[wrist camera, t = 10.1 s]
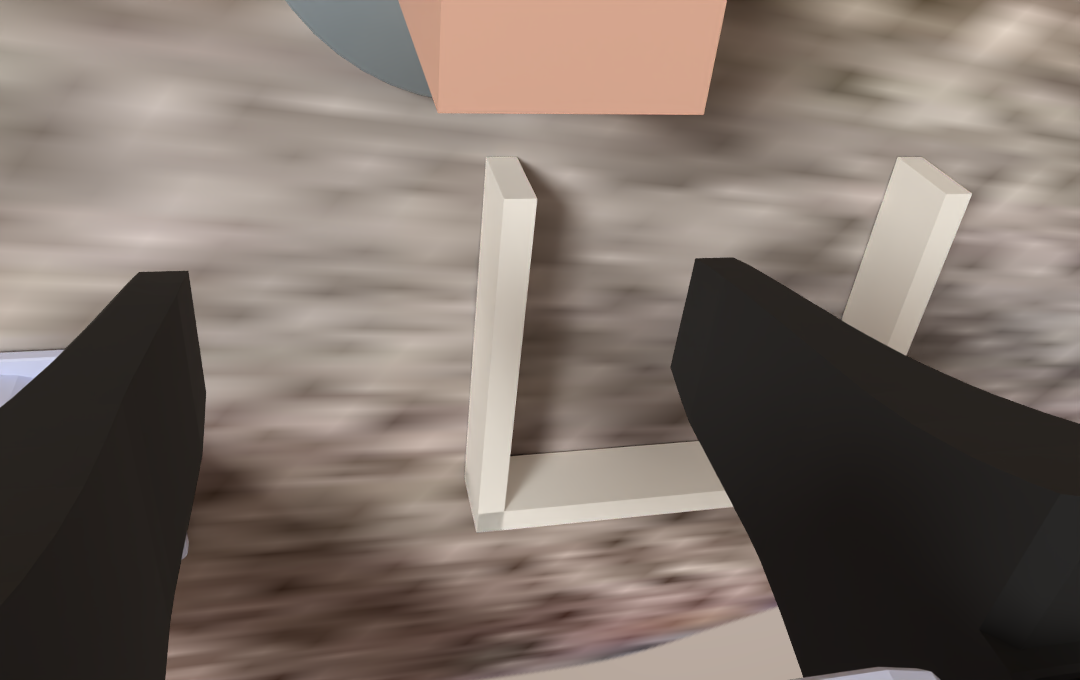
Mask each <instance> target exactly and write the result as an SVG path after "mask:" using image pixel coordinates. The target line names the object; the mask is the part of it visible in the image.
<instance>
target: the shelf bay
mask: <svg viewBox="0 0 1080 680" xmlns="http://www.w3.org/2000/svg"><path fill="white" fill-rule="evenodd" d="M971 195H972V193H970V192H969V191H968V190H966V189H965V188H964V187H962V186H961V185H959V184H958V183H957V182H955V181H954V180H953V179H951V178H950V177H949V176H947V175H946V174H944V173H943V172H942V171H940V170H939V169H938V168H936V167H935V166H934V165H932V164H931V163H929V162H928V161H927V160H925V159H924V158H923V157H898V158H897V161H896V164H895V167H894V170H893V172H892V175H891V178H890V181H889V184H888V187H887V190H886V193H885V196H884V198H883V201H882V204H881V207H880V210H879V213H878V216H877V219H876V222H875V224H874V227H873V230H872V233H871V236H870V239H869V242H868V245H867V247H866V250H865V253H864V256H863V259H862V262H861V265H860V268H859V271H858V273H857V276H856V279H855V282H854V285H853V288H852V291H851V294H850V297H849V299H848V302H847V305H846V308H845V311H844V314H843V317H842V321H844V322H845V323H847V324H849V325H850V326H852V327H854V328H856V329H857V330H859V331H861V332H863V333H865V334H866V335H868V336H870V337H872V338H874V339H876V340H877V341H879V342H881V343H883V344H885V345H887V346H889V347H890V348H892V349H894V350H896V351H898V352H900V353H902V354H904V355H907V353H908V350H909V348H910V345H911V343H912V340H913V338H914V335H915V333H916V331H917V328H918V326H919V323H920V321H921V318H922V316H923V313H924V311H925V308H926V306H927V304H928V301H929V299H930V296H931V294H932V291H933V289H934V286H935V284H936V281H937V279H938V277H939V274H940V272H941V269H942V267H943V264H944V262H945V259H946V257H947V254H948V252H949V249H950V247H951V245H952V242H953V240H954V237H955V235H956V232H957V230H958V227H959V225H960V222H961V220H962V218H963V215H964V213H965V210H966V208H967V205H968V203H969V200H970V198H971ZM536 206H537V197H536V195H535V193H534V191H533V189H532V187H531V185H530V183H529V181H528V179H527V177H526V175H525V173H524V171H523V169H522V166H521V164H520V162H519V160H518V158H517V157H486V168H485V182H484V197H483V212H482V226H481V241H480V256H479V271H478V285H477V300H476V315H475V330H474V344H473V359H472V374H471V388H470V403H469V418H468V433H467V447H466V462H465V477H464V479H465V483H466V487H467V492H468V496H469V501H470V505H471V510H472V514H473V519H474V523H475V528H476V532H477V533H479V532H489V531H499V530H509V529H519V528H528V527H538V526H548V525H558V524H568V523H578V522H588V521H598V520H608V519H618V518H628V517H638V516H648V515H657V514H667V513H677V512H687V511H697V510H707V509H717V508H727V507H733V505H732V503H731V501H730V499H729V497H728V495H727V494H726V492H725V490H724V488H723V486H722V484H721V482H720V480H719V478H718V477H717V475H716V473H715V471H714V469H713V467H712V465H711V463H710V461H709V460H708V458H707V456H706V454H705V452H704V450H703V448H702V446H701V444H700V442H699V441H693V442H680V443H668V444H655V445H643V446H631V447H618V448H606V449H594V450H581V451H569V452H557V453H544V454H532V455H520V456H510V453H511V443H512V434H513V424H514V415H515V405H516V396H517V386H518V377H519V367H520V358H521V348H522V339H523V329H524V320H525V310H526V301H527V291H528V282H529V272H530V263H531V254H532V244H533V235H534V225H535V216H536Z"/></svg>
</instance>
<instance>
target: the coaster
mask: <svg viewBox="0 0 1080 680" xmlns="http://www.w3.org/2000/svg"><path fill="white" fill-rule="evenodd" d="M286 2H287V3H288V4H289V6H290V7H291V9H292V10H293V11H294V12H295V13H296V14H297V15H298V16H299V18H300V19H301V20H302V21H303V22H304V23H305V24H306V25H307V26H308V27H309V29H310V30H311V31H312V32H313V33H314V34H315V35H316V36H317V37H319V38H320V39H321V40H322V41H323V42H324V43H326V44H327V45H328V46H329V47H330V48H331V49H333V50H334V51H335V52H336V53H337V54H338V55H340V56H341V57H343V58H344V59H346V60H347V61H349V62H350V63H352V64H353V65H355V66H356V67H358V68H359V69H361V70H362V71H364V72H366V73H368V74H370V75H372V76H374V77H376V78H378V79H380V80H382V81H384V82H386V83H388V84H390V85H392V86H395V87H398V88H401V89H404V90H407V91H410V92H413V93H415V94H419V95H423V96H428V97H432V95H431V92H430V89H429V86H428V83H427V80H426V78H425V75H424V72H423V69H422V66H421V64H420V61H419V58H418V55H417V52H416V49H415V47H414V44H413V41H412V38H411V35H410V32H409V30H408V27H407V24H406V21H405V18H404V15H403V13H402V10H401V7H400V4H399V1H398V0H286Z"/></svg>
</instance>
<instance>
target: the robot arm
mask: <svg viewBox="0 0 1080 680" xmlns="http://www.w3.org/2000/svg"><path fill="white" fill-rule="evenodd" d="M671 370H672V373H673V376H674V379H675V382H676V386H677V389H678V392H679V395H680V398H681V401H682V403H683V406H684V409H685V412H686V414H687V417H688V420H689V422H690V424H691V426H692V428H693V430H694V432H695V434H696V436H697V438H698V440H699V442H700V444H701V446H702V448H703V450H704V452H705V454H706V456H707V458H708V460H709V461H710V463H711V465H712V467H713V469H714V471H715V473H716V475H717V477H718V478H719V480H720V482H721V484H722V486H723V488H724V490H725V492H726V494H727V495H728V497H729V499H730V501H731V503H732V505H733V507H734V509H735V511H736V512H737V514H738V516H739V518H740V520H741V522H742V524H743V526H744V528H745V529H746V531H747V533H748V535H749V537H750V540H751V542H752V544H753V546H754V548H755V550H756V552H757V554H758V557H759V559H760V561H761V564H762V566H763V569H764V571H765V574H766V576H767V579H768V582H769V584H770V587H771V589H772V592H773V594H774V597H775V600H776V602H777V605H778V607H779V610H780V612H781V615H782V618H783V621H784V624H785V626H786V629H787V632H788V635H789V638H790V641H791V643H792V646H793V649H794V652H795V655H796V657H797V660H798V663H799V666H800V669H801V672H802V675H803V678H798V679H792V680H1080V424H1078V423H1075V422H1072V421H1069V420H1066V419H1062V418H1059V417H1056V416H1053V415H1050V414H1047V413H1044V412H1041V411H1038V410H1035V409H1032V408H1029V407H1027V406H1024V405H1021V404H1018V403H1016V402H1013V401H1010V400H1007V399H1005V398H1002V397H999V396H996V395H994V394H991V393H989V392H986V391H984V390H981V389H979V388H976V387H974V386H971V385H969V384H966V383H964V382H962V381H960V380H957V379H955V378H953V377H951V376H948V375H946V374H944V373H942V372H939V371H937V370H935V369H933V368H931V367H928V366H926V365H924V364H922V363H920V362H918V361H916V360H914V359H912V358H910V357H908V356H906V355H904V354H902V353H900V352H898V351H896V350H894V349H892V348H890V347H889V346H887V345H885V344H883V343H881V342H879V341H877V340H876V339H874V338H872V337H870V336H868V335H866V334H865V333H863V332H861V331H859V330H857V329H856V328H854V327H852V326H850V325H849V324H847V323H845V322H844V321H842V320H840V319H838V318H837V317H835V316H833V315H832V314H830V313H828V312H827V311H825V310H823V309H822V308H820V307H818V306H817V305H815V304H813V303H812V302H810V301H809V300H807V299H805V298H804V297H802V296H800V295H799V294H797V293H795V292H794V291H792V290H790V289H789V288H787V287H786V286H784V285H782V284H781V283H779V282H777V281H776V280H774V279H772V278H771V277H769V276H767V275H765V274H764V273H762V272H760V271H759V270H757V269H755V268H753V267H751V266H749V265H747V264H746V263H744V262H741V261H739V260H737V259H735V258H696V259H695V263H694V267H693V272H692V276H691V280H690V285H689V289H688V293H687V298H686V302H685V307H684V311H683V315H682V320H681V324H680V328H679V333H678V337H677V341H676V346H675V350H674V354H673V359H672V363H671ZM205 402H206V389H205V382H204V375H203V368H202V362H201V355H200V348H199V341H198V334H197V327H196V321H195V314H194V307H193V300H192V293H191V287H190V280H189V273H188V271H164V272H139V273H138V274H137V275H135V276H134V277H133V278H132V279H131V280H130V281H129V282H128V283H127V285H126V286H125V287H124V288H123V289H122V290H121V291H120V292H119V293H118V294H117V295H116V296H115V297H114V298H113V300H112V301H111V302H110V303H109V304H108V305H107V306H106V307H105V308H104V309H103V310H102V312H101V313H100V314H99V315H98V316H97V317H96V318H95V319H94V320H93V321H92V322H91V323H90V324H89V325H88V326H87V328H86V329H85V330H84V331H83V332H82V333H81V334H80V335H79V336H78V337H77V338H76V339H75V340H74V341H73V342H72V343H71V344H70V345H69V346H68V347H67V348H66V349H65V350H47V351H25V352H4V353H0V680H165V675H166V663H167V652H168V640H169V629H170V620H171V614H172V607H173V600H174V594H175V589H176V584H177V579H178V574H179V569H180V564H181V560H182V559H184V558H185V557H186V556H187V554H188V546H189V540H188V535H187V530H188V525H189V520H190V515H191V510H192V505H193V500H194V495H195V490H196V485H197V480H198V475H199V470H200V464H201V459H202V452H203V437H204V421H205Z"/></svg>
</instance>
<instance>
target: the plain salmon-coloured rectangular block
mask: <svg viewBox="0 0 1080 680" xmlns="http://www.w3.org/2000/svg"><path fill="white" fill-rule="evenodd" d="M398 1H399V4H400V7H401V10H402V13H403V15H404V18H405V21H406V24H407V27H408V30H409V32H410V35H411V38H412V41H413V44H414V47H415V49H416V52H417V55H418V58H419V61H420V64H421V66H422V69H423V72H424V75H425V78H426V80H427V83H428V86H429V89H430V92H431V95H432V97H433V100H434V103H435V106H436V109H437V112H438V113H506V114H661V115H704V111H705V106H706V101H707V96H708V91H709V86H710V81H711V76H712V72H713V67H714V62H715V57H716V52H717V47H718V42H719V37H720V32H721V27H722V22H723V18H724V13H725V8H726V3H727V0H398Z"/></svg>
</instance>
